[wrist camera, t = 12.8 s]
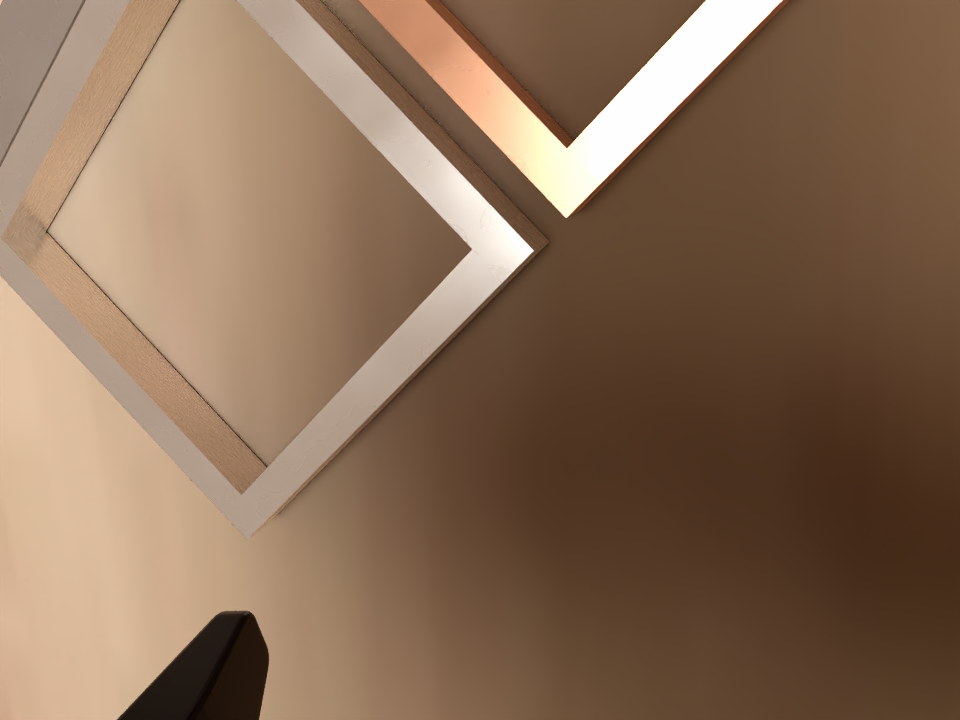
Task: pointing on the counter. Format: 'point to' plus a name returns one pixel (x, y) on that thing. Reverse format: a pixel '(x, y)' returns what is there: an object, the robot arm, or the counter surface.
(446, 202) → the socket rail
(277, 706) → the counter surface
